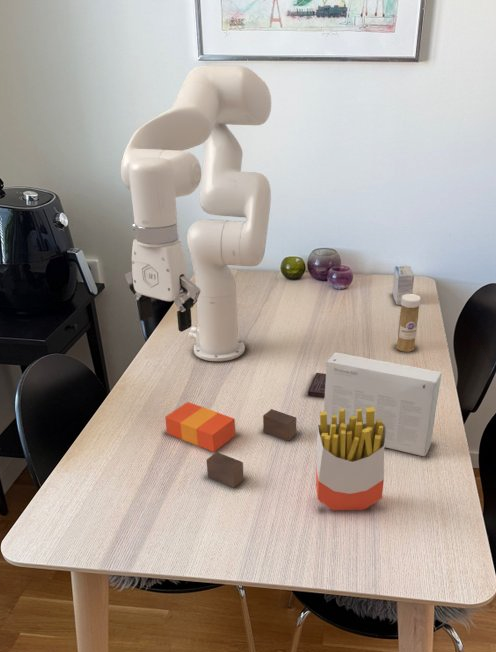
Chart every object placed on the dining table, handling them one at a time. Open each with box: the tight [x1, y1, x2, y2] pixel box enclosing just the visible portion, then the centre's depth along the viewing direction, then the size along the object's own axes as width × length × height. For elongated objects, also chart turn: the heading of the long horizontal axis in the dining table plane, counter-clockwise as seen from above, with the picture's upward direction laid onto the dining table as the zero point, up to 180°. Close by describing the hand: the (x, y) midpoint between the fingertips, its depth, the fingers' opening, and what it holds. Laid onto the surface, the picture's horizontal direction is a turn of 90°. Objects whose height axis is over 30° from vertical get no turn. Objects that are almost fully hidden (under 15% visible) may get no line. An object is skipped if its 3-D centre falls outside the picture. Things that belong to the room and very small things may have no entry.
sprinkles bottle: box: [396, 293, 422, 353], centre depth 161 cm, size 5×5×13 cm
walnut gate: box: [206, 408, 298, 489], centre depth 127 cm, size 6×21×4 cm, turn 146°
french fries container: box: [315, 407, 386, 511], centre depth 111 cm, size 5×11×18 cm, turn 91°
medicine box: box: [392, 265, 415, 306], centre depth 188 cm, size 8×4×9 cm, turn 179°
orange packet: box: [164, 401, 236, 453], centre depth 133 cm, size 12×7×4 cm, turn 56°
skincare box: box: [323, 351, 442, 457], centre depth 128 cm, size 21×5×16 cm, turn 65°
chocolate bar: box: [307, 372, 326, 399], centre depth 148 cm, size 9×1×18 cm
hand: (165, 323), depth 128 cm, fingers open, 9 cm apart
